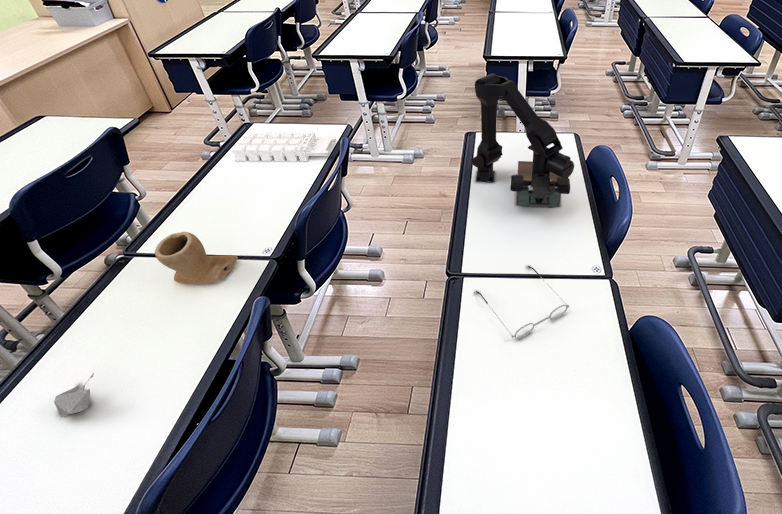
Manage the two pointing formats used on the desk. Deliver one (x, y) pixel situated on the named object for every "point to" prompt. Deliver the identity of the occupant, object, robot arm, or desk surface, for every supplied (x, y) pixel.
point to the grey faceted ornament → (73, 400)
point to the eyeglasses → (537, 322)
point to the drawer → (530, 201)
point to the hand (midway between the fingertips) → (538, 205)
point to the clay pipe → (192, 259)
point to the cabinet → (526, 171)
